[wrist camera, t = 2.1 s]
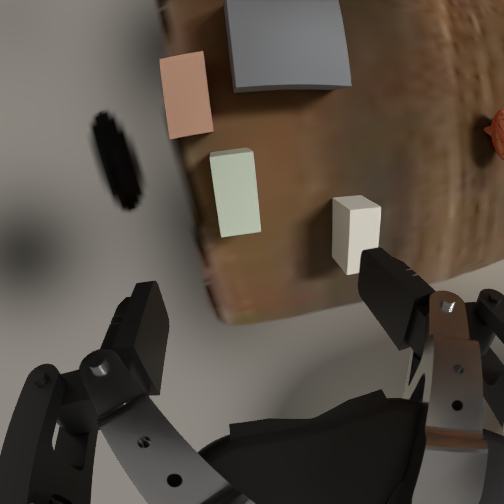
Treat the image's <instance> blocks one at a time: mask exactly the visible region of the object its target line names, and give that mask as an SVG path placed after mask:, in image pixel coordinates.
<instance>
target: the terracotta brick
mask: <svg viewBox="0 0 504 504" xmlns="http://www.w3.org/2000/svg"><path fill="white" fill-rule="evenodd" d="M159 60H160V70H161V79H162V87H163V95H164V103H165V111H166V118H167V125H168V131H169V138H170V139H174V138H179V137H185V136H190V135H196V134H202V133H208V132H213V131H214V129H213V122H212V114H211V107H210V99H209V91H208V83H207V75H206V67H205V60H204V53H203V51H200V52H194V53H188V54H182V55H177V56H172V57H168V58H163V59H159Z"/></svg>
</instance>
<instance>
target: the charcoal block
mask: <svg viewBox="0 0 504 504" xmlns="http://www.w3.org/2000/svg"><path fill="white" fill-rule="evenodd" d="M224 13H225V22H226V31H227V40H228V50H229V59H230V68H231V77H232V86H233V93H242V92H254V91H270V90H337V89H341V88H346V87H350V86H352V85H351V76H350V67H349V59H348V52H347V45H346V38H345V32H344V26H343V21H342V15H341V10H340V5H339V1H338V0H224Z"/></svg>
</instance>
